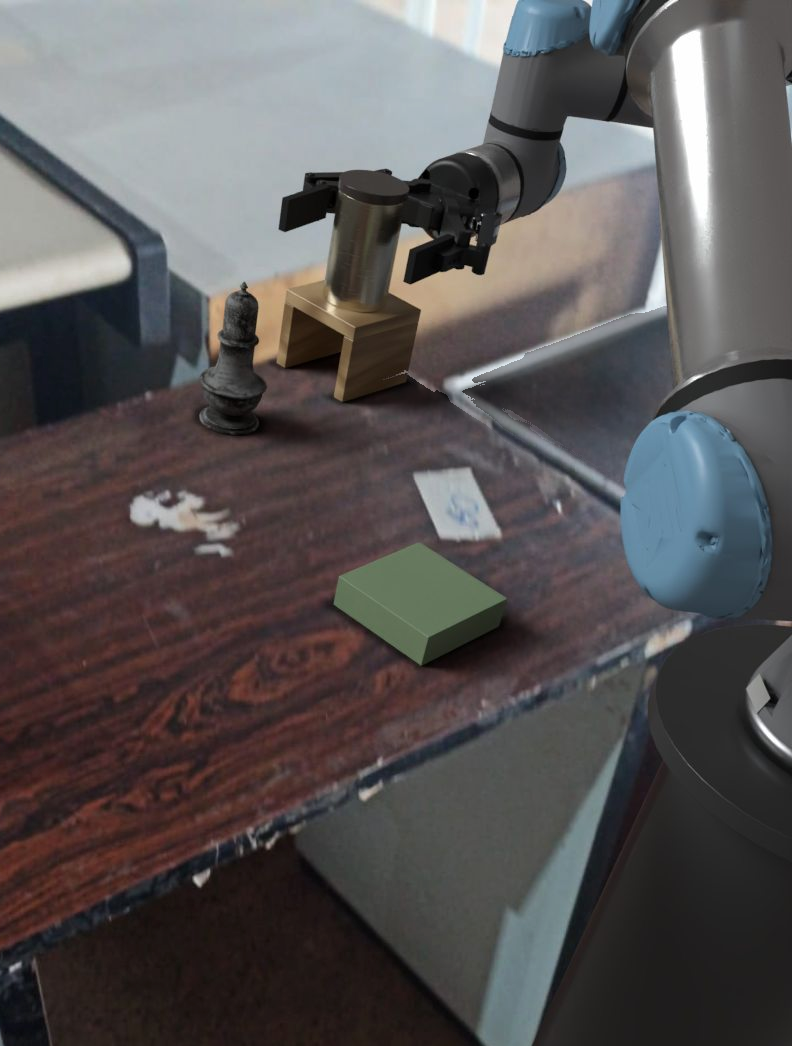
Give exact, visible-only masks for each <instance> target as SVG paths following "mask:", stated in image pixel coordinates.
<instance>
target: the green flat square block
mask: <svg viewBox="0 0 792 1046" xmlns="http://www.w3.org/2000/svg"><path fill="white" fill-rule="evenodd" d="M507 602H508V598H507V597H506V596H504V595H502V594H501V593H499V592H498V591H496V590H495V589H493V587H492V588H491V587H490V586H488V585H487V584H485V583H484V582H482V581H481V580H479V579H478V578H476V577H474V576H473V575H471V574H470V573H469V572H467V571H466V570H463V569H462V568H460V567H459V566H457V564H454V563H453V562H451V561H449V560H448V559H447V558H445V557H444V556H442V555H440V554H438V553H437V552H435V550H432V549H431V548H430V547H428V546H426V545H425V544H423V543H422V542H420V541H418V542H416V543H413V544H412V545H409V546H406V547H404V548H402V549H399V550H396V551H394V552H393V553H390V554H387V555H385V556H383V557H381V558H378V559H376V560H374V561H371V562H368V563H367V564H363V565H361V566H359V567H358V568H355V569H352V570H350V571H348V572H345V573H343V574H341V575H339V576H338V580H337V583H336V589H335V595H334V599H333V605H334V606H335V607H336V608H337V609H339V610H340V611H342V612H343V613H345V614H346V615H347V616H349V617H351V618H352V619H353V620H354V621H356V622H357V623H359V624H360V625H362V626H363V627H365V628H366V629H367V630H369V631H371V632H372V633H373V634H375V635H376V636H378V637H379V638H381V639H383V641H385V642H386V643H388V644H389V645H391V647H393V648H395V649H396V650H398V651H399V652H400V653H402V654H403V655H405V656H406V657H407V658H409V659H410V660H412V661H413V662H415V663H417V664H418V665H419V666H421V667H422V666H424V665H426V664H428V663H429V662H432V661H434V660H435V659H438V658H440V657H441V656H443V655H446V654H448V653H449V652H451V651H453V650H455V649H457V648H459V647H461V646H463V645H465V644H467V643H469V642H471V641H473V640H475V639H477V638H479V637H481V636H483V635H485V634H487V633H489V632H491V631H493V630H494V629H497V628H499V627H500V625H501V621H502V617H503V614H504V611H505V608H506V605H507Z"/></svg>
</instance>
